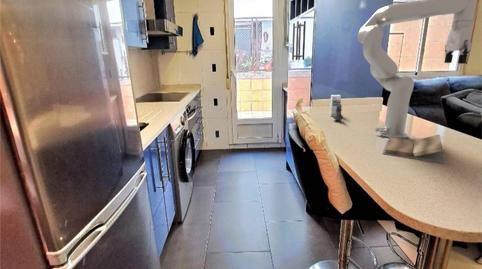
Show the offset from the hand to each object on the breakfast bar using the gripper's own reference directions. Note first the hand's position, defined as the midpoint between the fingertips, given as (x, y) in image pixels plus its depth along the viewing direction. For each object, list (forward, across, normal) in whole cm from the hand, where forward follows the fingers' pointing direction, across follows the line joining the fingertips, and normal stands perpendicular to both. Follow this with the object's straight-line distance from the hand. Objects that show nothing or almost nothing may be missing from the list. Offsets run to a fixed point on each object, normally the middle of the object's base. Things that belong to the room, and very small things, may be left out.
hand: (454, 63), depth 136 cm
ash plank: (+34, +26, -22) cm, 48 cm away
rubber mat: (+37, +24, -26) cm, 51 cm away
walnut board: (+37, +21, -31) cm, 53 cm away
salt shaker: (+37, -32, -44) cm, 66 cm away
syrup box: (+37, -48, -42) cm, 74 cm away
